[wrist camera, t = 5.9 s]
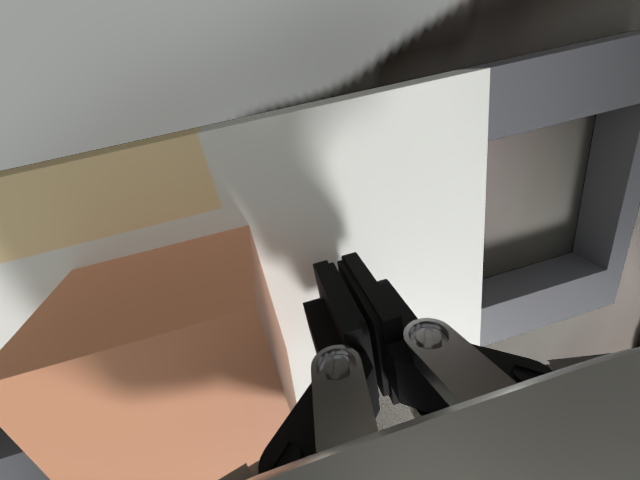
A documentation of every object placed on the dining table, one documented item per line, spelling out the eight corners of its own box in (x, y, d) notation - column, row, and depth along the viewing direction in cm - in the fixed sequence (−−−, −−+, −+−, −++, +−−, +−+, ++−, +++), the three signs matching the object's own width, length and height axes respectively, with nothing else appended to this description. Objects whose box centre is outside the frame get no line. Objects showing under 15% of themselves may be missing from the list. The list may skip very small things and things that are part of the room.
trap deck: (630, 31, 14) (686, 23, 12) (580, 284, 20) (614, 303, 18) (-398, 259, 10) (-532, 296, 8) (-85, 493, 16) (-126, 544, 14)
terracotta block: (249, 224, 12) (255, 307, 8) (286, 348, 15) (307, 464, 10) (71, 269, 11) (-36, 390, 7) (145, 391, 14) (102, 534, 10)
